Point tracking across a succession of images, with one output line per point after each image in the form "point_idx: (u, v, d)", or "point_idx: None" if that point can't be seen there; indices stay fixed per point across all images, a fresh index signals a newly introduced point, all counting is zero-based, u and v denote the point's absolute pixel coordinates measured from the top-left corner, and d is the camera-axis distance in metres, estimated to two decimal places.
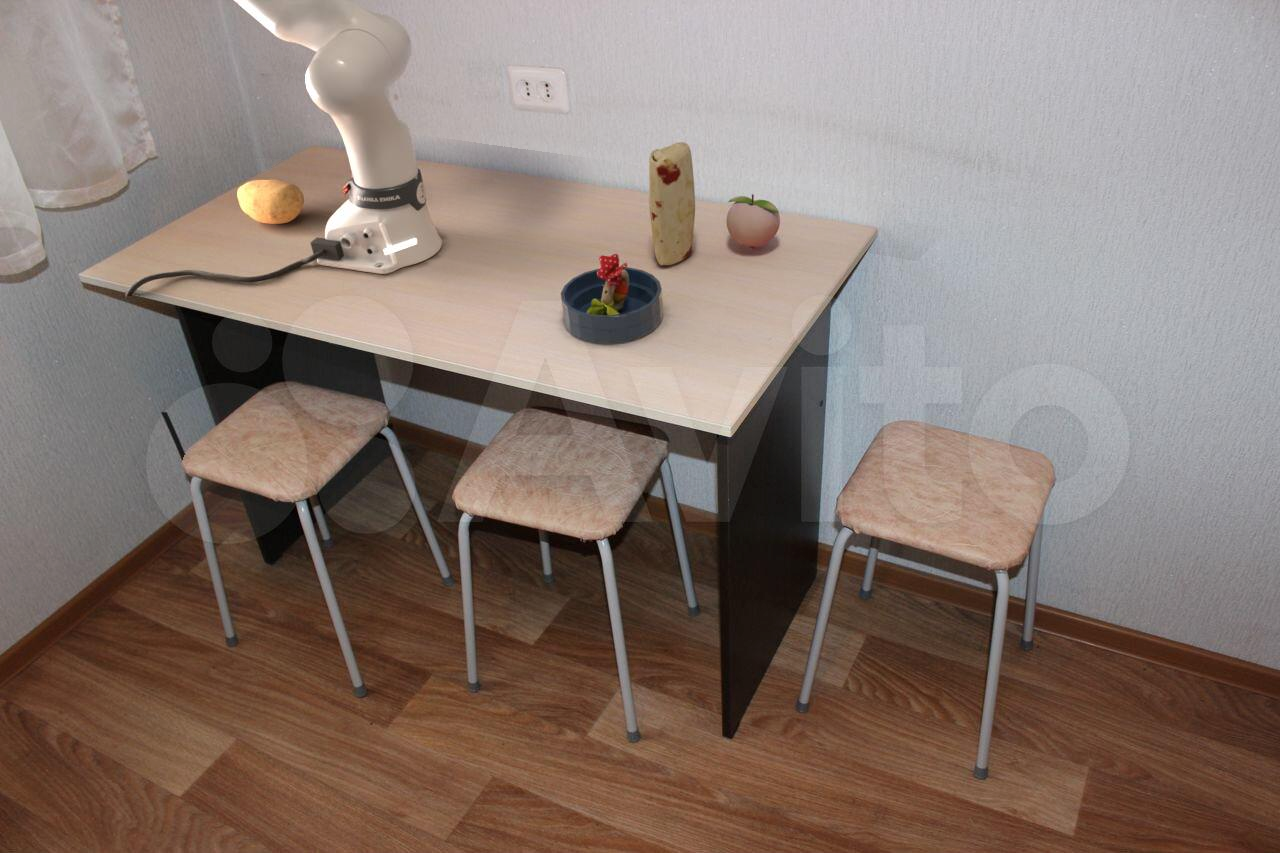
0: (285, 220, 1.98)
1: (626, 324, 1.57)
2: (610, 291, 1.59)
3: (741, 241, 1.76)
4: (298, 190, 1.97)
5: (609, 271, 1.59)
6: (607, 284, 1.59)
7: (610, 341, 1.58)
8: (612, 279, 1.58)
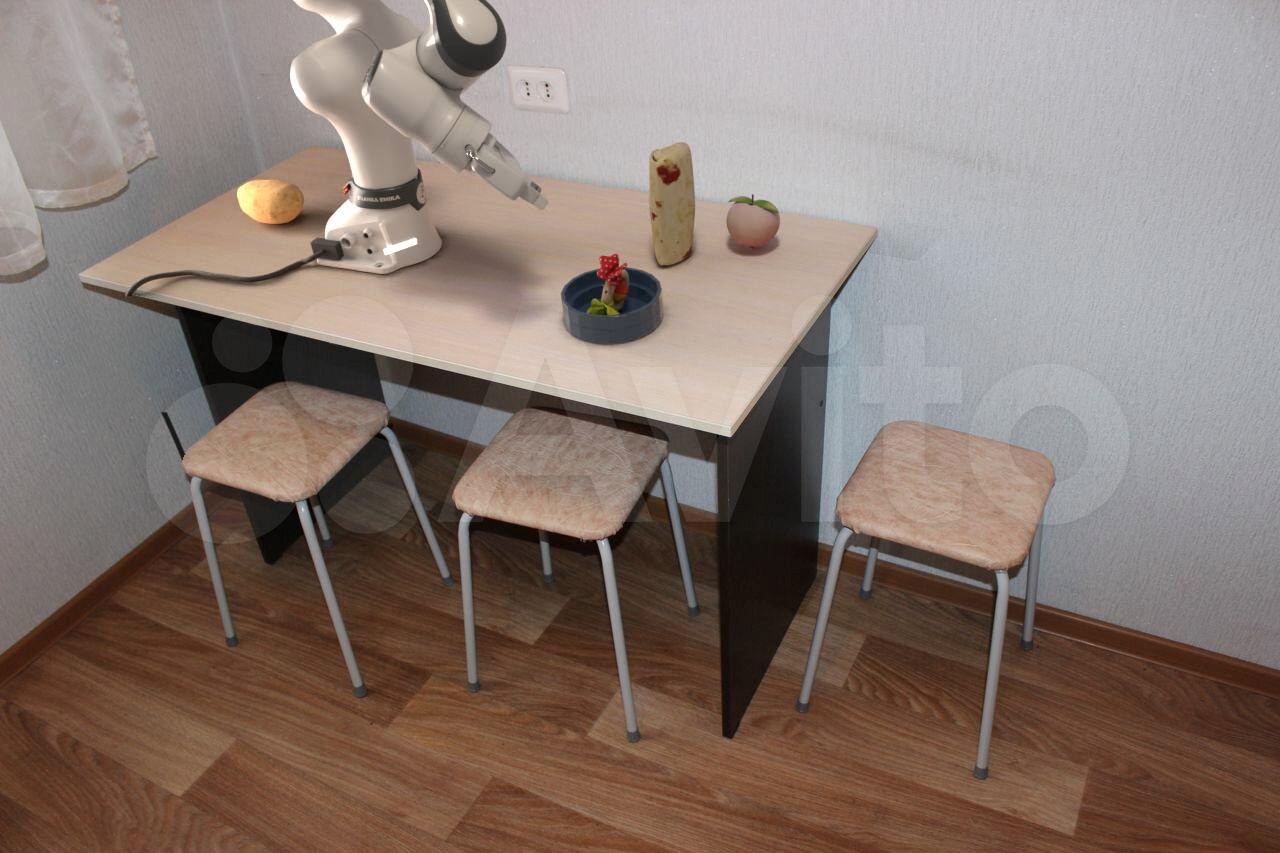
0: (285, 220, 1.98)
1: (626, 324, 1.57)
2: (610, 291, 1.59)
3: (741, 241, 1.76)
4: (298, 190, 1.97)
5: (609, 271, 1.59)
6: (607, 284, 1.59)
7: (610, 341, 1.58)
8: (612, 279, 1.58)
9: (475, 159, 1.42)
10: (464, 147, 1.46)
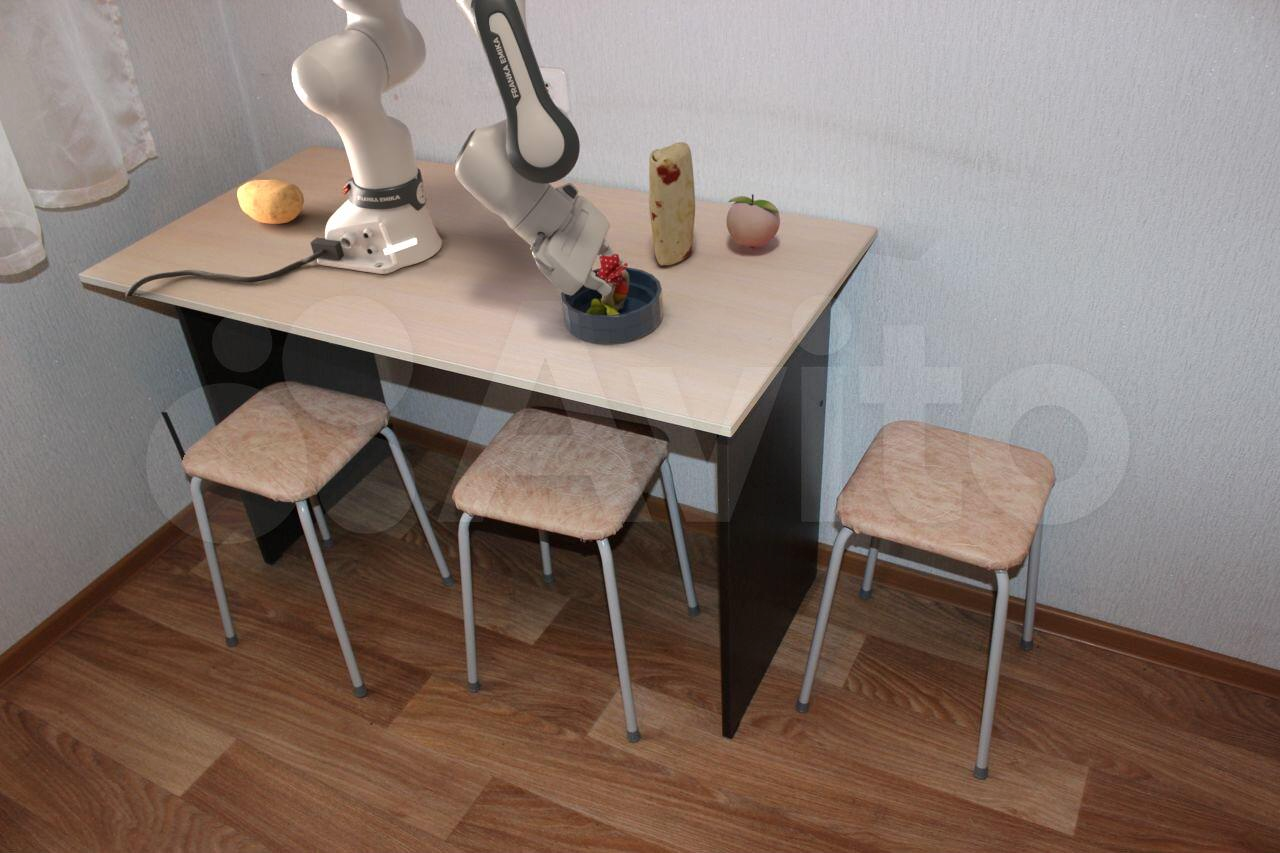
0: (285, 220, 1.98)
1: (626, 324, 1.57)
2: None
3: (741, 241, 1.76)
4: (298, 190, 1.97)
5: (609, 271, 1.59)
6: None
7: (610, 341, 1.58)
8: (612, 279, 1.58)
9: (535, 258, 1.49)
10: (537, 234, 1.53)
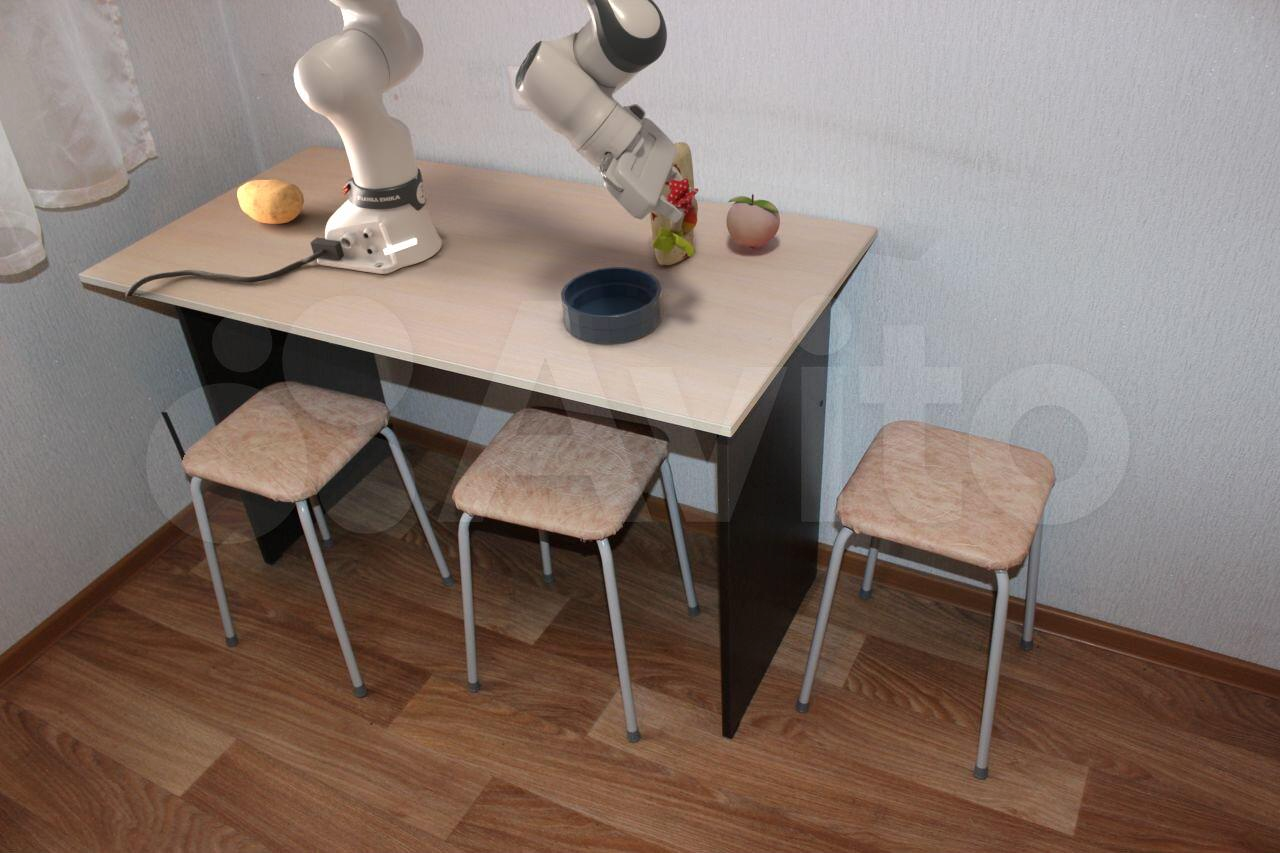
0: (285, 220, 1.98)
1: (626, 324, 1.57)
2: None
3: (741, 241, 1.76)
4: (298, 190, 1.97)
5: (679, 197, 1.49)
6: None
7: (610, 341, 1.58)
8: (682, 205, 1.49)
9: (603, 177, 1.39)
10: (604, 154, 1.43)
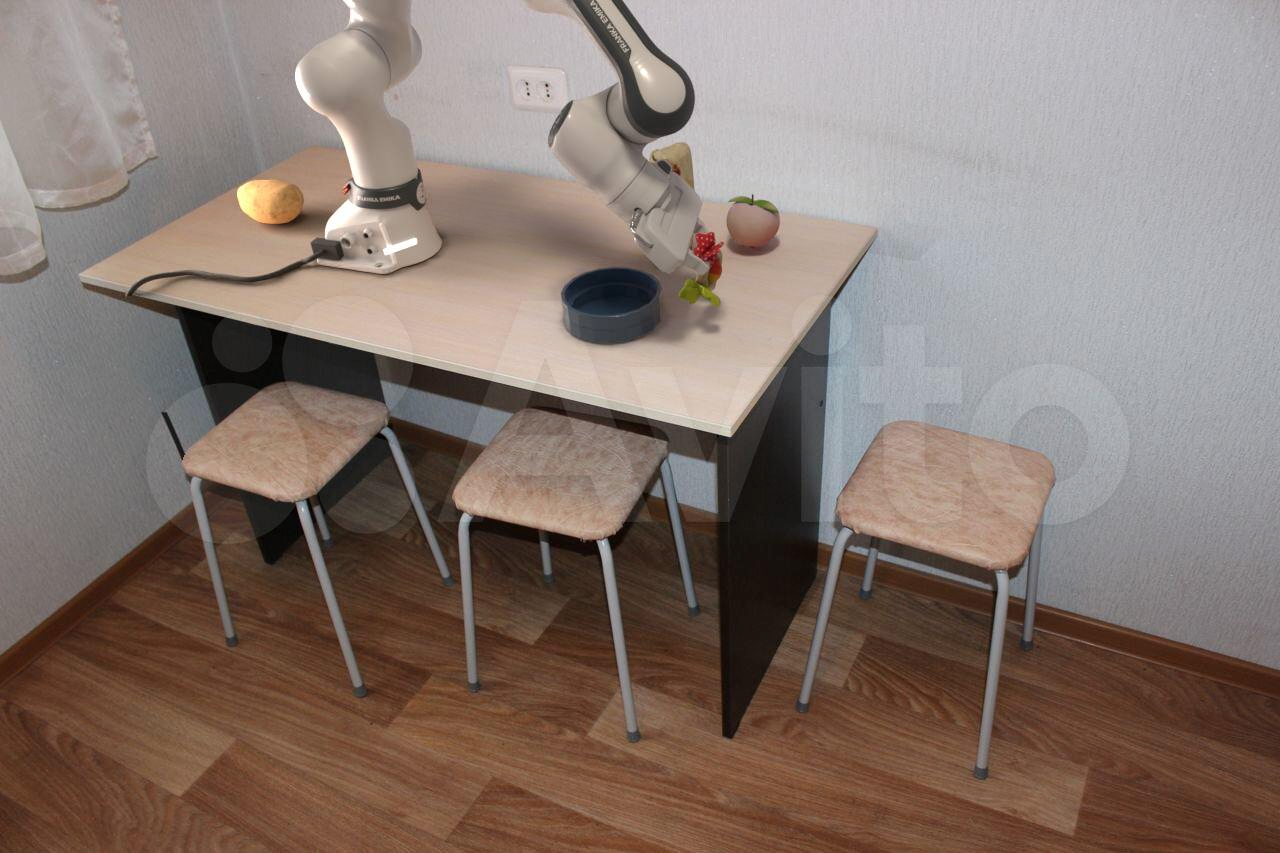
0: (285, 220, 1.98)
1: (626, 324, 1.57)
2: None
3: (741, 241, 1.76)
4: (298, 190, 1.97)
5: (705, 250, 1.53)
6: None
7: (610, 341, 1.58)
8: (708, 258, 1.53)
9: (634, 234, 1.44)
10: (633, 209, 1.48)
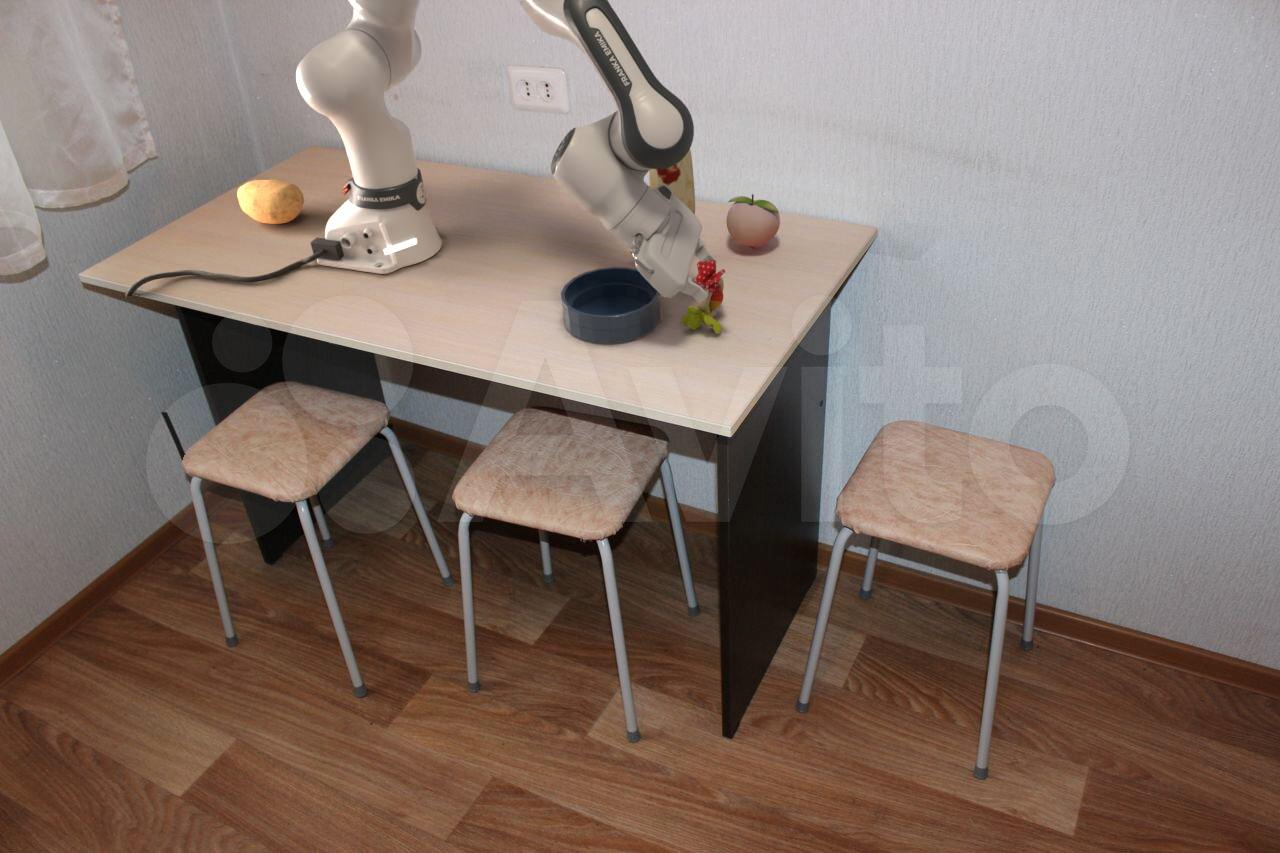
0: (285, 220, 1.98)
1: (626, 324, 1.57)
2: (707, 298, 1.57)
3: (741, 241, 1.76)
4: (298, 190, 1.97)
5: (706, 277, 1.56)
6: None
7: (610, 341, 1.58)
8: (710, 286, 1.56)
9: (635, 260, 1.46)
10: (635, 235, 1.50)
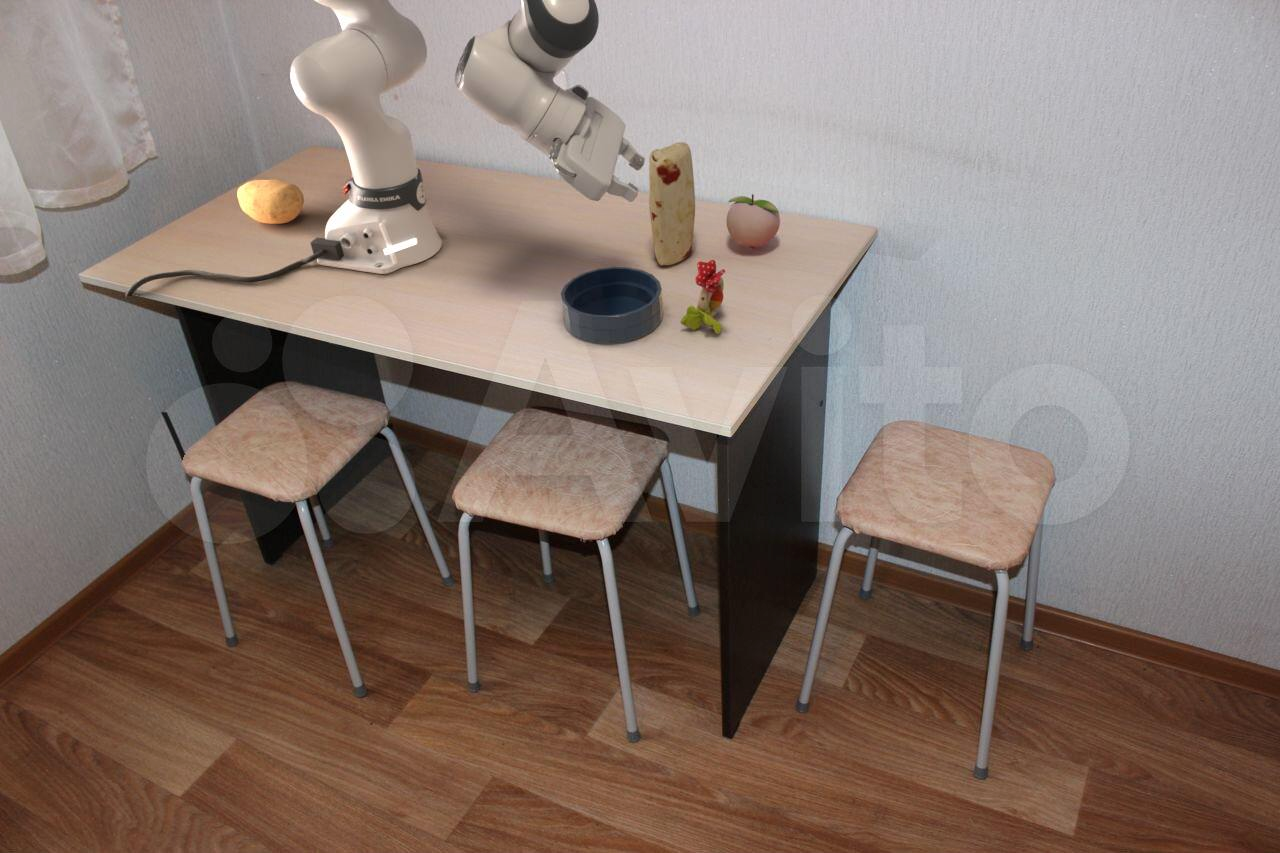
0: (285, 220, 1.98)
1: (626, 324, 1.57)
2: (707, 298, 1.57)
3: (741, 241, 1.76)
4: (298, 190, 1.97)
5: (706, 277, 1.56)
6: (704, 291, 1.57)
7: (610, 341, 1.58)
8: (710, 286, 1.56)
9: (555, 165, 1.40)
10: (552, 140, 1.44)
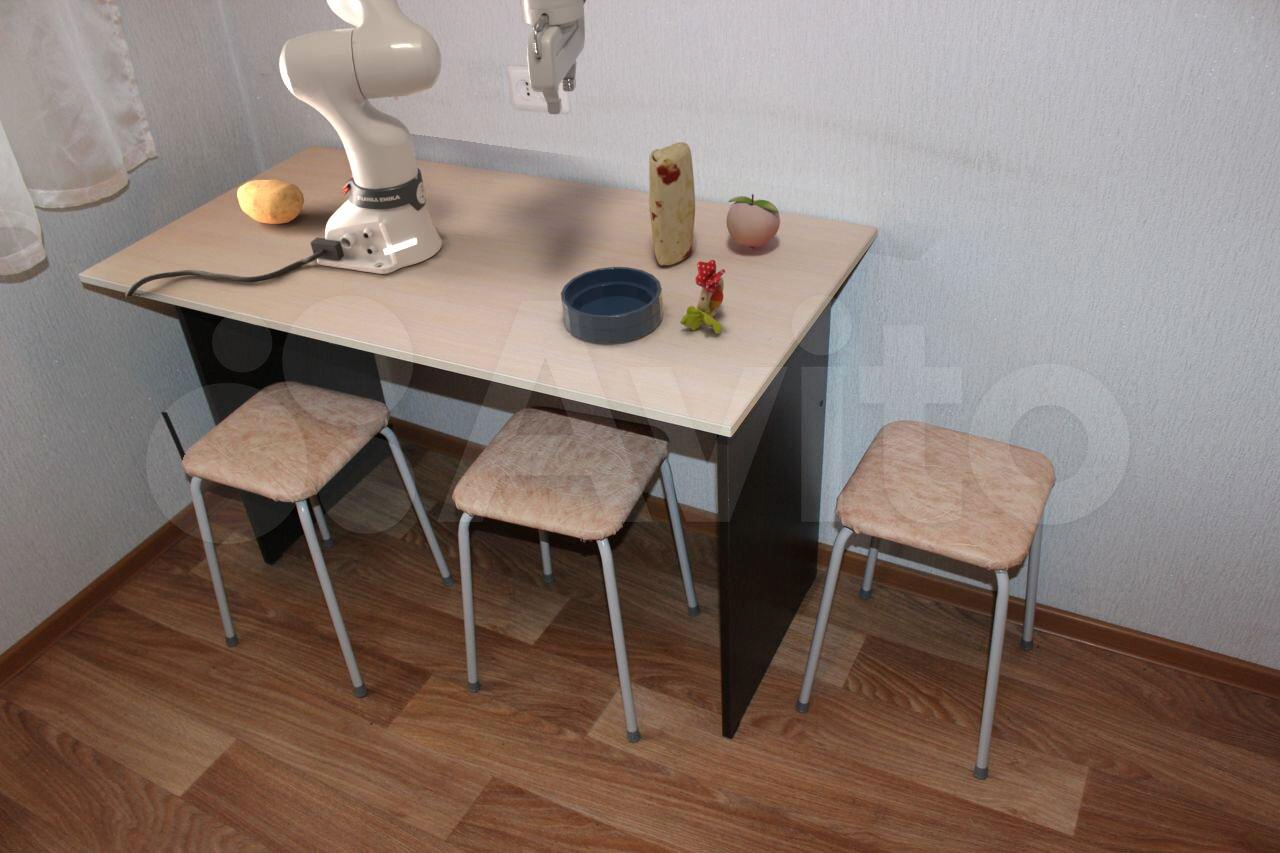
0: (285, 220, 1.98)
1: (626, 324, 1.57)
2: (707, 298, 1.57)
3: (741, 241, 1.76)
4: (298, 190, 1.97)
5: (706, 277, 1.56)
6: (704, 291, 1.57)
7: (610, 341, 1.58)
8: (710, 286, 1.56)
9: (534, 36, 1.40)
10: (542, 13, 1.44)
